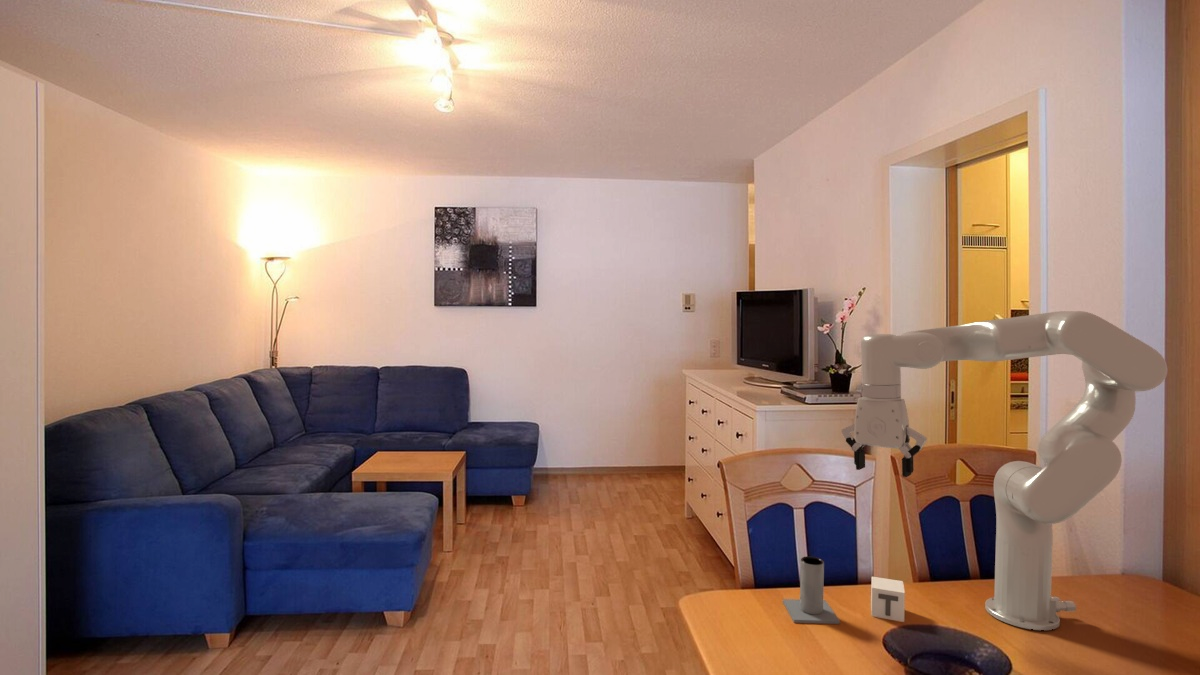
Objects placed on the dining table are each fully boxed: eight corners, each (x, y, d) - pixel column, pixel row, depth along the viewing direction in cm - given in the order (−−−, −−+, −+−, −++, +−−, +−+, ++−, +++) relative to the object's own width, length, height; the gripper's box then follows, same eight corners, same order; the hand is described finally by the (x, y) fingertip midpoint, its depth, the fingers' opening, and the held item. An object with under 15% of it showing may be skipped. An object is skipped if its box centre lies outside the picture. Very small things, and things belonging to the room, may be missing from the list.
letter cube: (870, 604, 131) (871, 576, 131) (902, 609, 129) (902, 581, 129) (871, 617, 125) (872, 588, 125) (904, 623, 123) (904, 593, 123)
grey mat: (825, 602, 131) (825, 600, 131) (839, 624, 122) (839, 621, 122) (782, 601, 132) (782, 599, 132) (793, 622, 123) (794, 619, 123)
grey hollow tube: (820, 605, 129) (821, 556, 129) (825, 615, 124) (826, 565, 124) (797, 603, 130) (798, 555, 129) (802, 614, 125) (803, 564, 125)
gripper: (833, 391, 134) (835, 469, 135) (918, 396, 122) (920, 482, 122) (849, 388, 139) (851, 463, 140) (931, 392, 127) (933, 475, 127)
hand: (883, 472), depth 131 cm, fingers open, 9 cm apart
